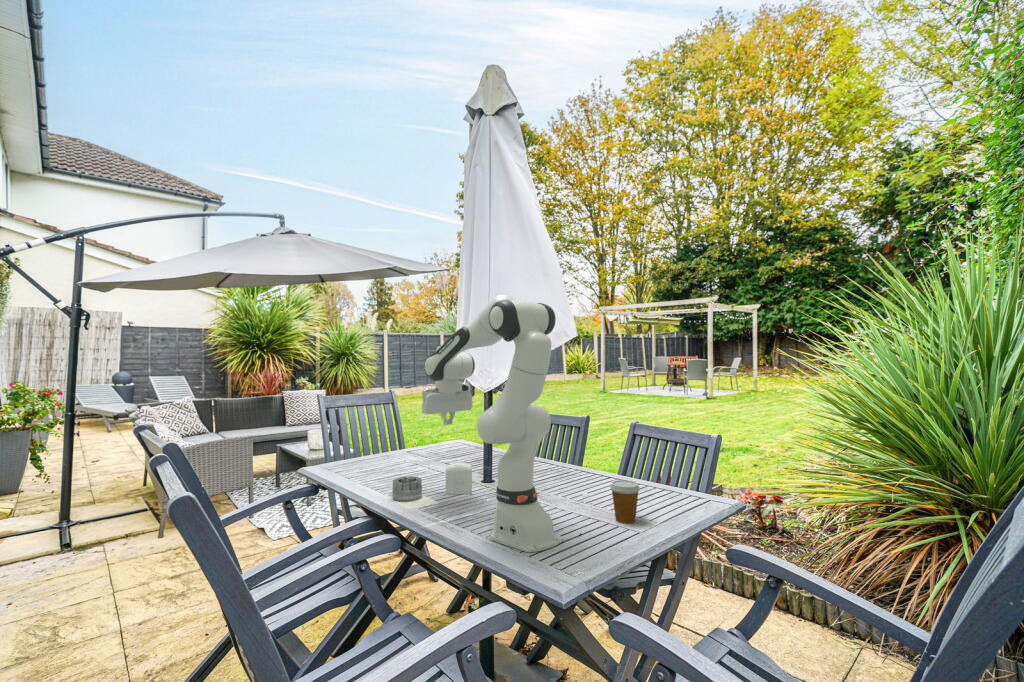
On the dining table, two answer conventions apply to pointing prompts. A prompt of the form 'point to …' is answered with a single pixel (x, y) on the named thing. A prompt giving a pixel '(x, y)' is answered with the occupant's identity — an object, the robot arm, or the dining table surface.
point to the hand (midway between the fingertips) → (448, 424)
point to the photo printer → (459, 479)
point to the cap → (407, 479)
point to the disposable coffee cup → (625, 500)
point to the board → (416, 502)
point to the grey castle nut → (407, 490)
